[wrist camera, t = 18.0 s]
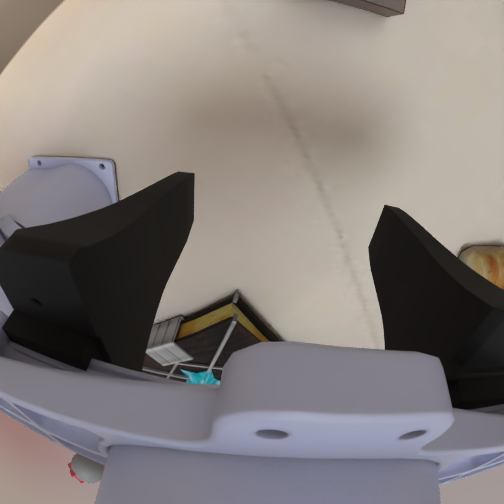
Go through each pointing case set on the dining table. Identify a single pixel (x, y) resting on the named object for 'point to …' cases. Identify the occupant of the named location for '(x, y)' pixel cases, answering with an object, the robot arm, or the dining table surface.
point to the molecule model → (86, 469)
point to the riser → (378, 6)
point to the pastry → (486, 262)
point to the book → (203, 342)
